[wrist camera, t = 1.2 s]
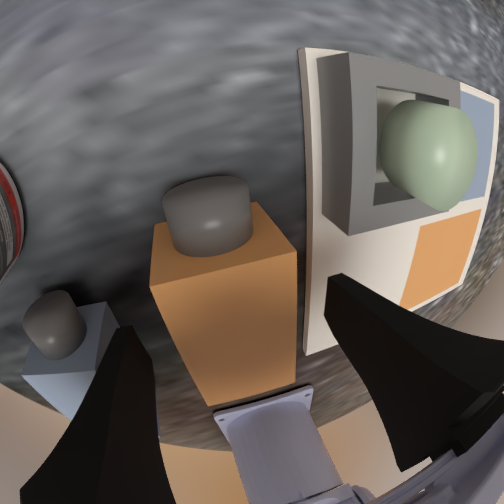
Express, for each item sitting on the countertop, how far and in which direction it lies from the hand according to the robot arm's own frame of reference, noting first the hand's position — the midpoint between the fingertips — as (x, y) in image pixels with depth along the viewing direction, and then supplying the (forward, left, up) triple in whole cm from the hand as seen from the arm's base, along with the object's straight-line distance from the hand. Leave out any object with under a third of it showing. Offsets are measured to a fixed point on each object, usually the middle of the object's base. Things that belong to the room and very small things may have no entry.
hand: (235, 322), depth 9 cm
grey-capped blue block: (-3, +7, -3) cm, 9 cm away
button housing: (+5, -8, -2) cm, 10 cm away
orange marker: (0, 0, -3) cm, 3 cm away
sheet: (+1, -12, -3) cm, 12 cm away
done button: (+5, -7, 0) cm, 9 cm away
